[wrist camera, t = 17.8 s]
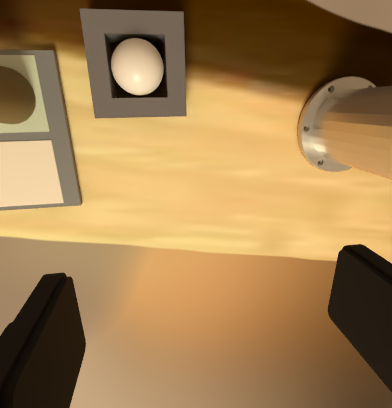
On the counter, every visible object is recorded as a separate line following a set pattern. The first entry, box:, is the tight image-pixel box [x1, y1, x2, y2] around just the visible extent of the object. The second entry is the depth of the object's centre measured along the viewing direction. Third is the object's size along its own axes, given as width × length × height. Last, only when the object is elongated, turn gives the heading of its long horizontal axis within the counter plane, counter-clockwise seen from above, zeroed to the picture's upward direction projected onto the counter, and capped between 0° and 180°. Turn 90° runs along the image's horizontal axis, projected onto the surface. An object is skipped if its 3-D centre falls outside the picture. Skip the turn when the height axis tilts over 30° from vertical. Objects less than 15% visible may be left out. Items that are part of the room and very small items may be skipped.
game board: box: [0, 50, 82, 210], centre depth 32 cm, size 12×18×1 cm, turn 1°
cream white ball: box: [111, 38, 163, 96], centre depth 29 cm, size 5×5×5 cm
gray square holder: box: [80, 9, 186, 118], centre depth 30 cm, size 10×10×4 cm
